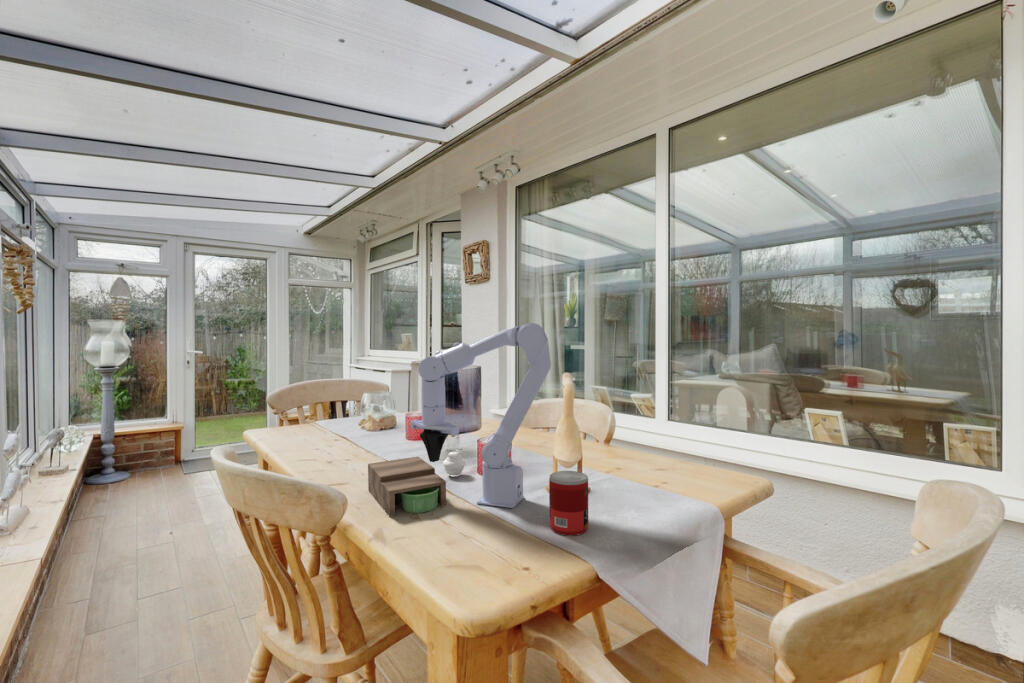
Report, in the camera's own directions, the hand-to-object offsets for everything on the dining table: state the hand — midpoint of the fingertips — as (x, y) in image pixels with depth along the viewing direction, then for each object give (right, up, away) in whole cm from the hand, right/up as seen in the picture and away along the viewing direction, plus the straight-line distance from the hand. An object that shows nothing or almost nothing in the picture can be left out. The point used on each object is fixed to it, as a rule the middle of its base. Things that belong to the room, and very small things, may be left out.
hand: (434, 460), depth 117 cm
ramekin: (-3, -10, -5) cm, 11 cm away
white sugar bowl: (+3, -9, +19) cm, 21 cm away
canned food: (+31, -10, -17) cm, 37 cm away
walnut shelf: (-7, -9, +1) cm, 12 cm away
